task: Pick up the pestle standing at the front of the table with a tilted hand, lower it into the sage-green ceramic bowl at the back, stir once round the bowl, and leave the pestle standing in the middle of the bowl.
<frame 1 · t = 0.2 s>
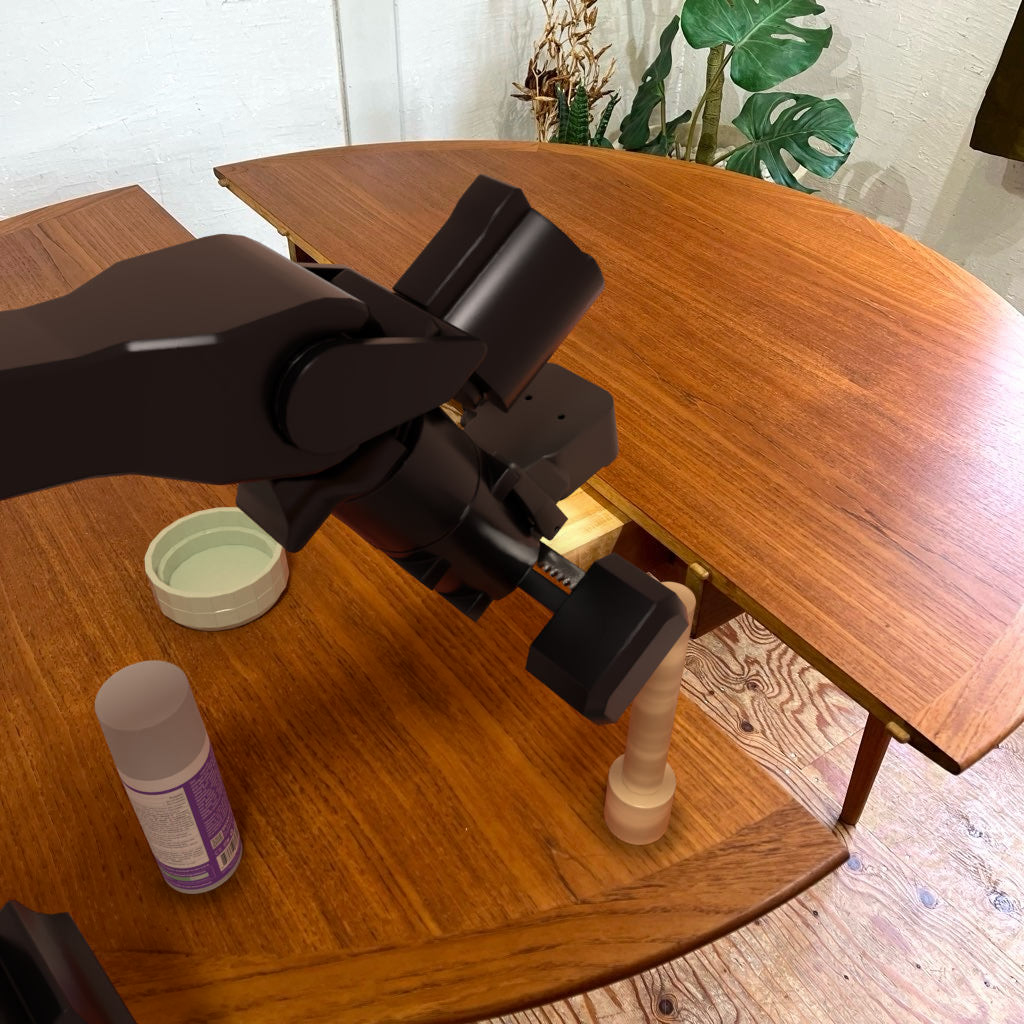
hand: (554, 611, 51), 16 cm above the table, tool tilted 35°, fingers open, 9 cm apart
bowl: (224, 587, 74), on the table
pestle: (636, 816, 59), on the table
container: (203, 858, 57), on the table
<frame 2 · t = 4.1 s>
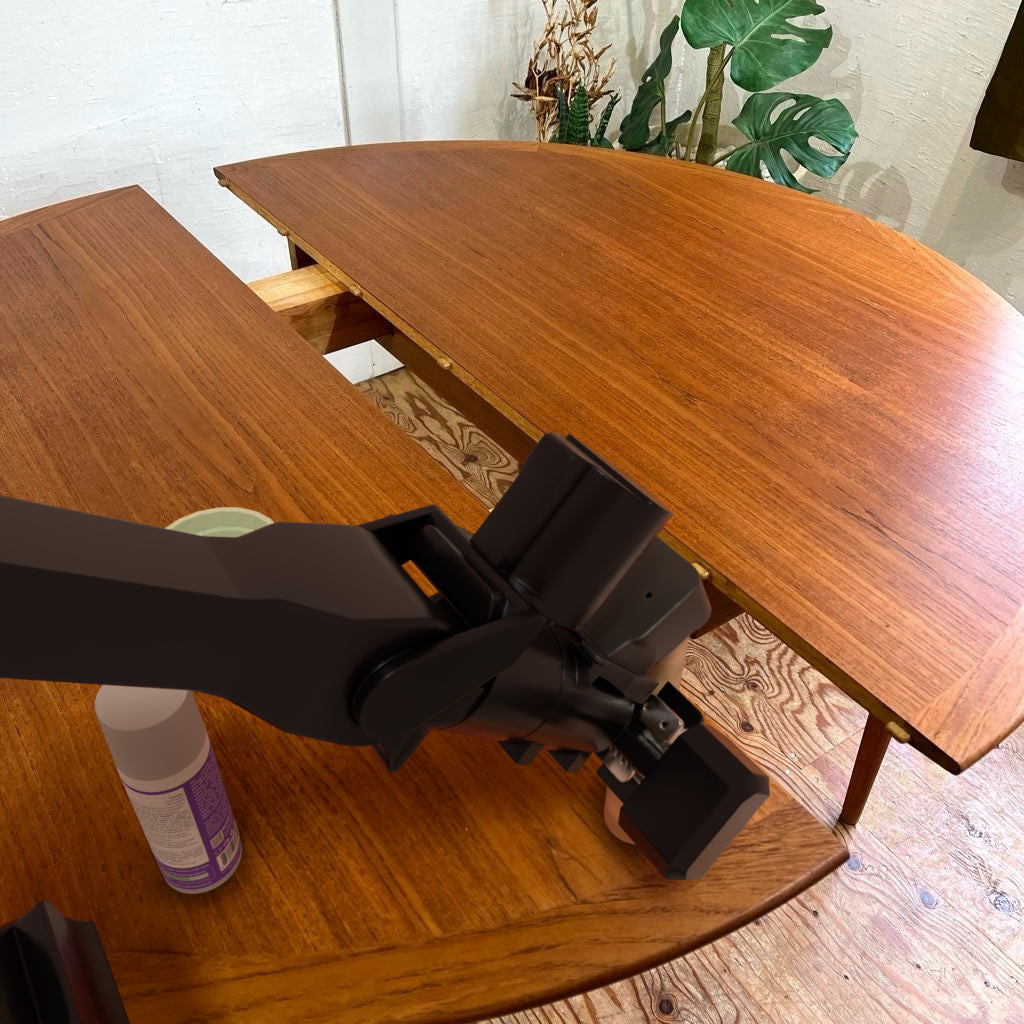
hand: (668, 718, 54), 9 cm above the table, tool tilted 45°, fingers closed on pestle, 2 cm apart
pestle: (636, 816, 59), on the table, touching gripper
everything else where it was.
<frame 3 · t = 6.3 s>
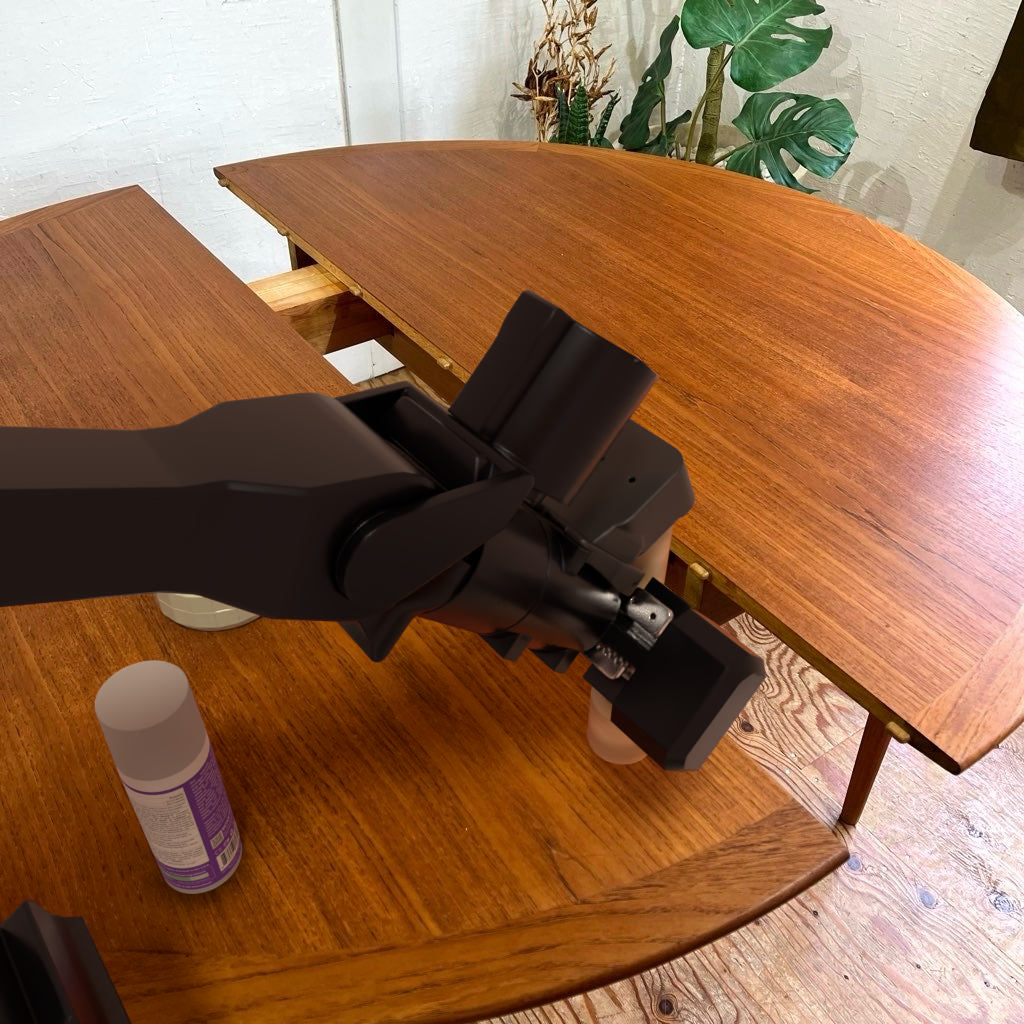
hand: (650, 628, 53), 14 cm above the table, tool tilted 45°, fingers closed on pestle, 2 cm apart
pestle: (620, 737, 58), point 5 cm above the table, touching gripper
everything else where it was.
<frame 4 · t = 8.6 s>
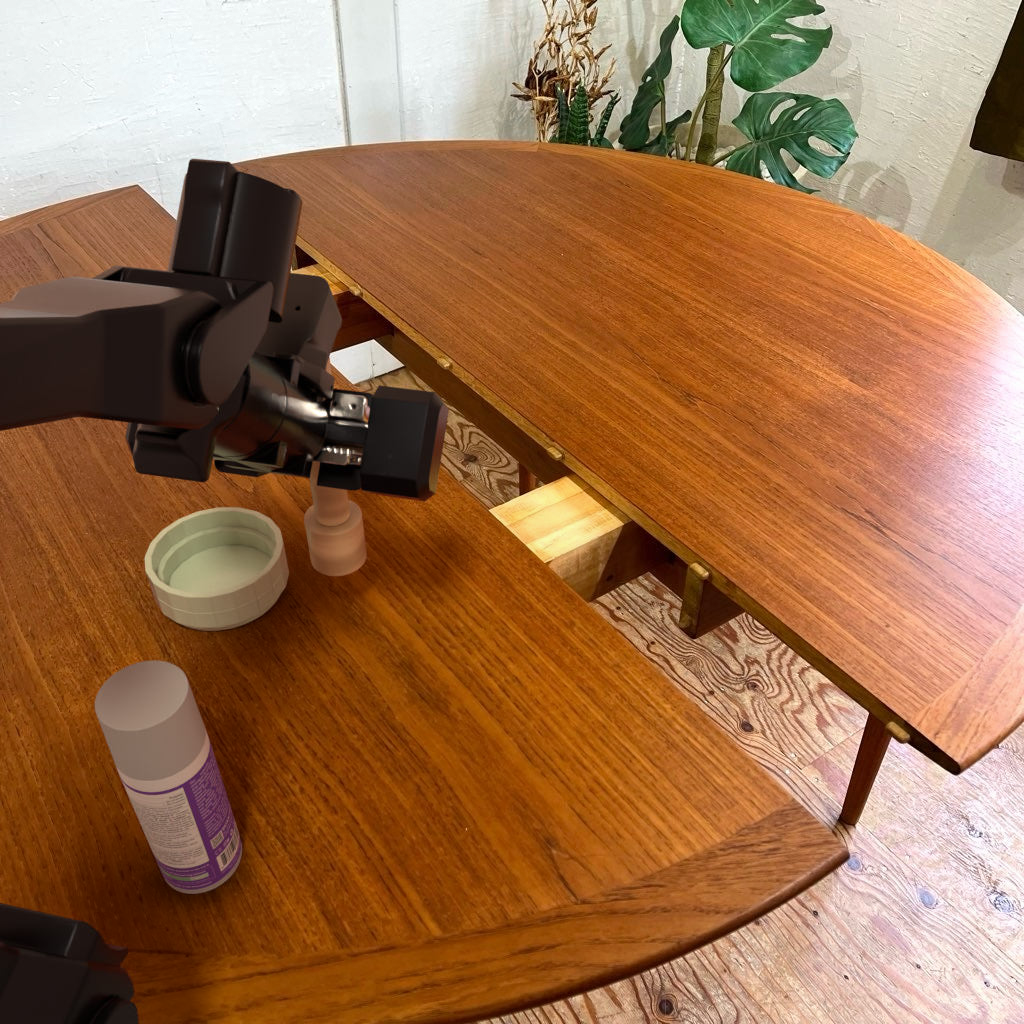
hand: (332, 451, 65), 14 cm above the table, tool tilted 45°, fingers closed on pestle, 2 cm apart
pestle: (339, 557, 69), point 5 cm above the table, touching gripper
everything else where it was.
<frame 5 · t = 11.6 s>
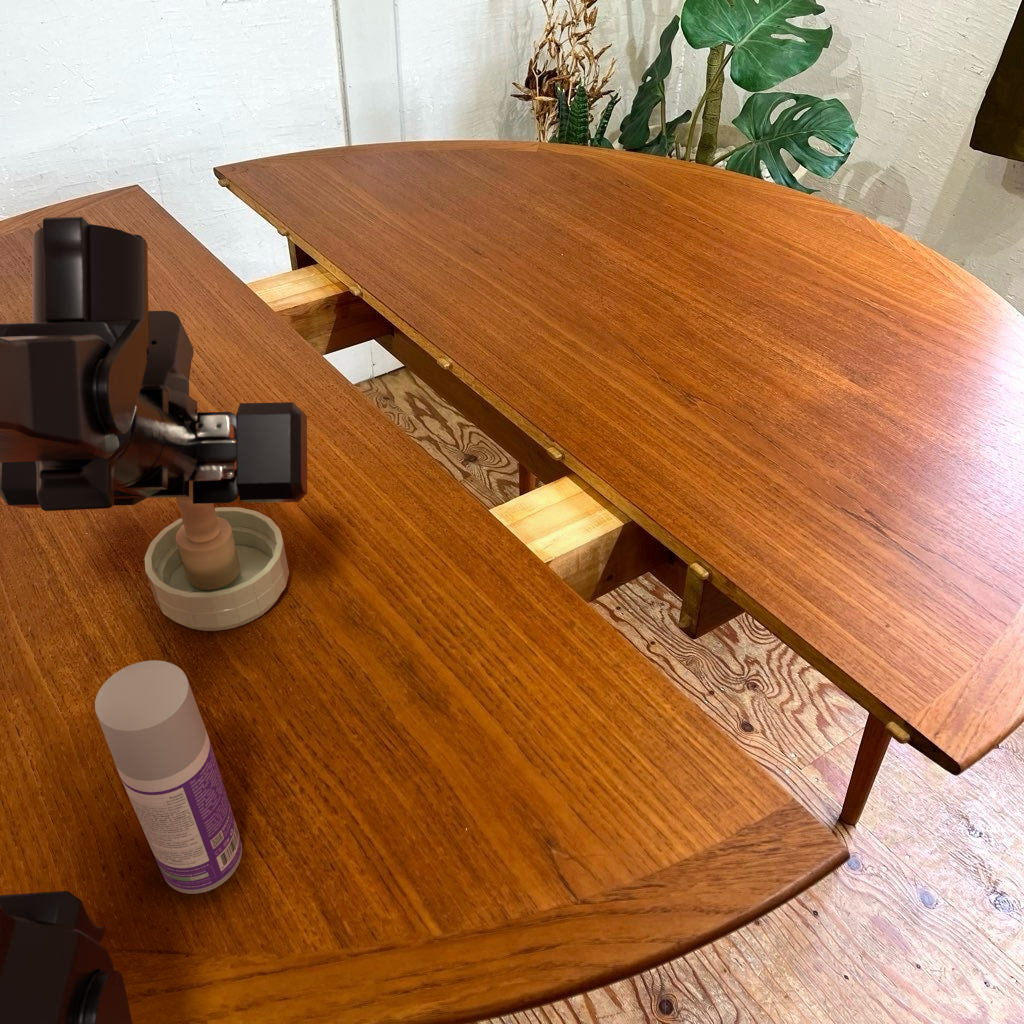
hand: (194, 472, 69), 10 cm above the table, tool tilted 45°, fingers closed on pestle, 2 cm apart
pestle: (213, 571, 74), point 1 cm above the table, touching gripper
everything else where it was.
when the fingers open (9 cm above the table, at t = 13.4 s): pestle stays where it is, resting on bowl.
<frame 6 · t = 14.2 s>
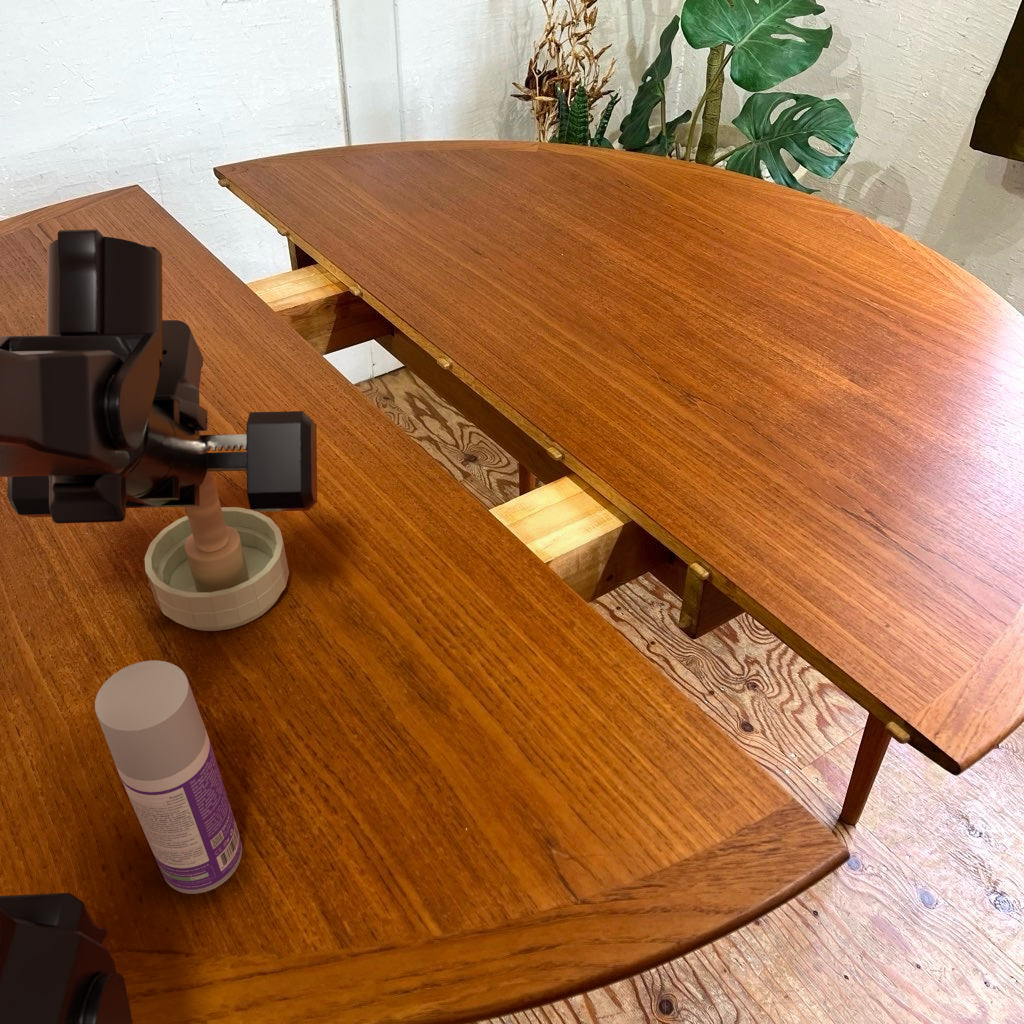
hand: (203, 480, 69), 9 cm above the table, tool tilted 45°, fingers open, 9 cm apart
pestle: (222, 580, 74), point 1 cm above the table, touching bowl
everything else where it was.
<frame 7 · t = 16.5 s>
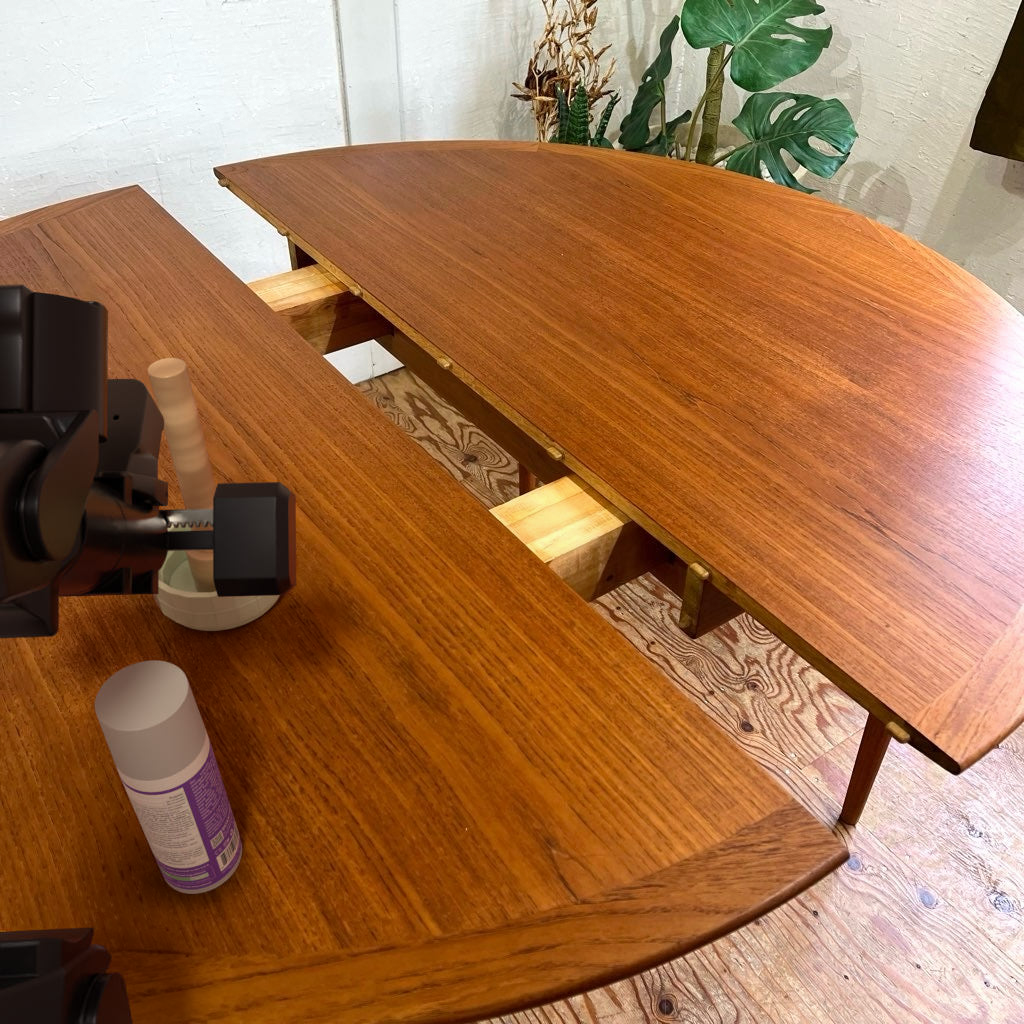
hand: (169, 550, 61), 11 cm above the table, tool tilted 45°, fingers open, 9 cm apart
nothing on the table moved.
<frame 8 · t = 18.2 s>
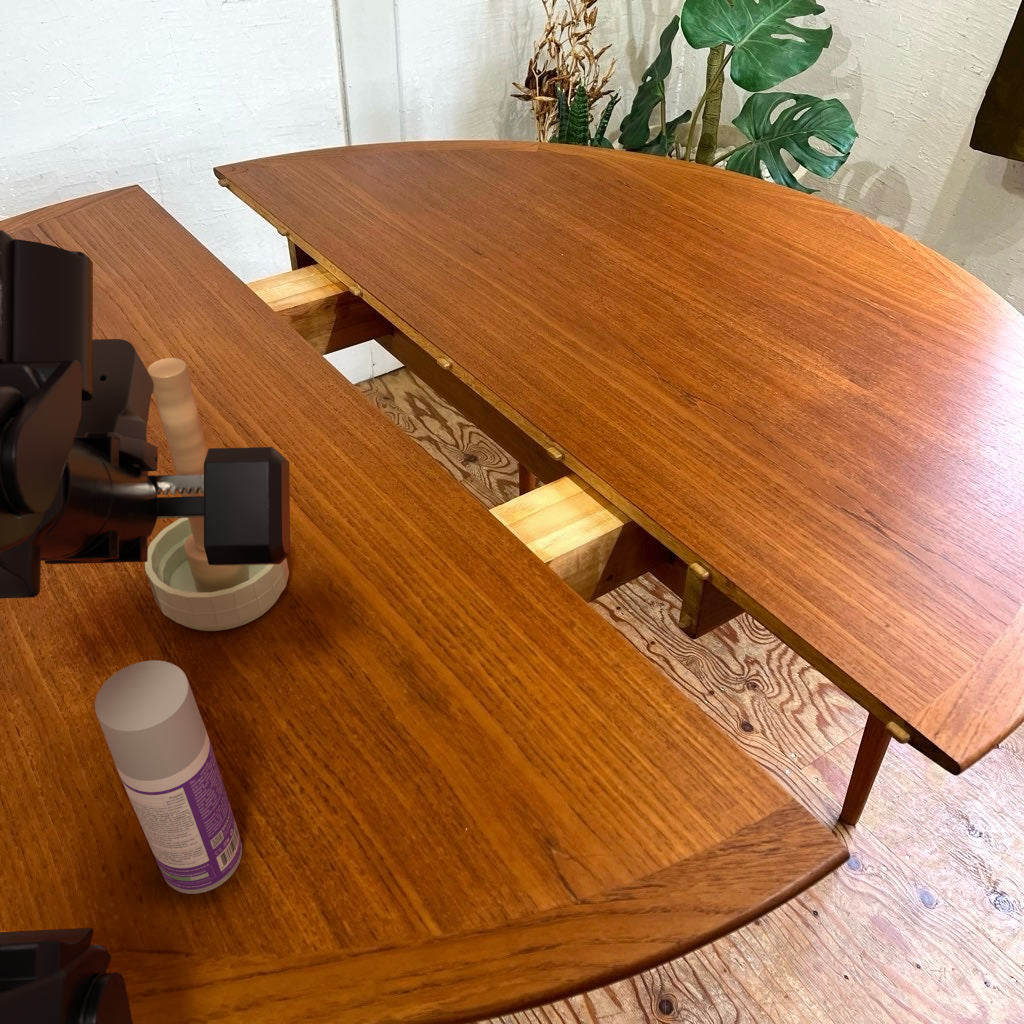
hand: (160, 522, 59), 14 cm above the table, tool tilted 45°, fingers open, 9 cm apart
nothing on the table moved.
at the end: pestle 0.0 cm off-centre in the bowl, point 0.8 cm above the bowl's base; pestle tilted 0°; pestle moved 35.9 cm from its start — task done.
